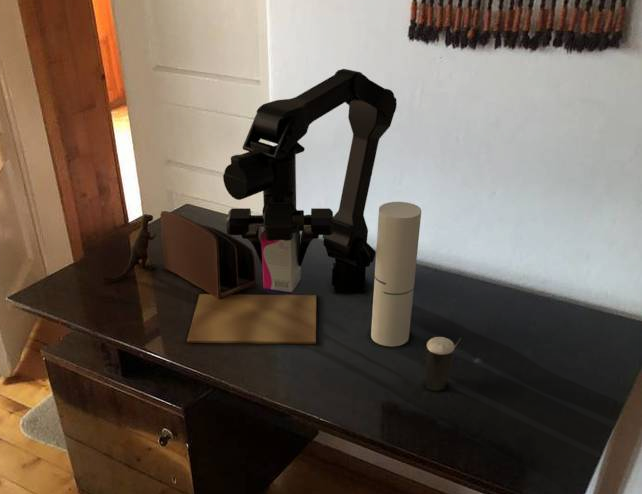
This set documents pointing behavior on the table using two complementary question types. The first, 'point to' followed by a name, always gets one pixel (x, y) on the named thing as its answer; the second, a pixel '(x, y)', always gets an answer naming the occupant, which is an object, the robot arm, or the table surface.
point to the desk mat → (254, 319)
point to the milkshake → (438, 362)
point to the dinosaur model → (138, 249)
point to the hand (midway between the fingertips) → (281, 265)
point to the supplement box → (281, 264)
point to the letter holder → (206, 256)
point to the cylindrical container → (395, 272)
